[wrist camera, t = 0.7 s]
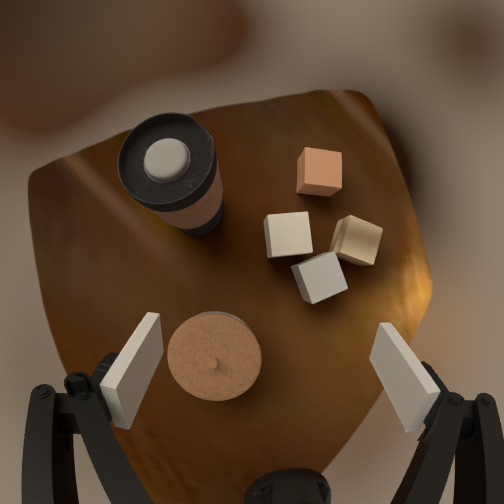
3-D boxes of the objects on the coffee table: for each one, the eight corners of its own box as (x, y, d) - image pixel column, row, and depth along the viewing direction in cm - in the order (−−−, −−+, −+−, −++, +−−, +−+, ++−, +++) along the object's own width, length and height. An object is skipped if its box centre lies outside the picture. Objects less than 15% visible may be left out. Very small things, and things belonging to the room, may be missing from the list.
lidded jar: (207, 289, 39) (198, 295, 29) (272, 333, 39) (283, 352, 30) (165, 349, 38) (146, 372, 29) (228, 391, 38) (226, 423, 29)
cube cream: (303, 254, 40) (312, 252, 35) (267, 258, 40) (272, 256, 35) (299, 218, 40) (307, 211, 35) (263, 221, 40) (267, 214, 35)
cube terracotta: (329, 197, 41) (341, 188, 36) (296, 193, 40) (304, 183, 35) (330, 164, 41) (341, 152, 36) (297, 160, 41) (305, 147, 36)
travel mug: (167, 235, 39) (106, 204, 19) (174, 181, 39) (127, 111, 19) (222, 239, 39) (210, 210, 19) (228, 185, 40) (222, 111, 20)
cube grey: (335, 286, 40) (348, 288, 35) (303, 300, 39) (312, 304, 34) (322, 253, 40) (334, 251, 35) (290, 266, 40) (298, 265, 35)
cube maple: (358, 265, 40) (373, 264, 35) (327, 254, 40) (340, 252, 35) (367, 233, 41) (382, 228, 36) (337, 221, 40) (350, 215, 35)
